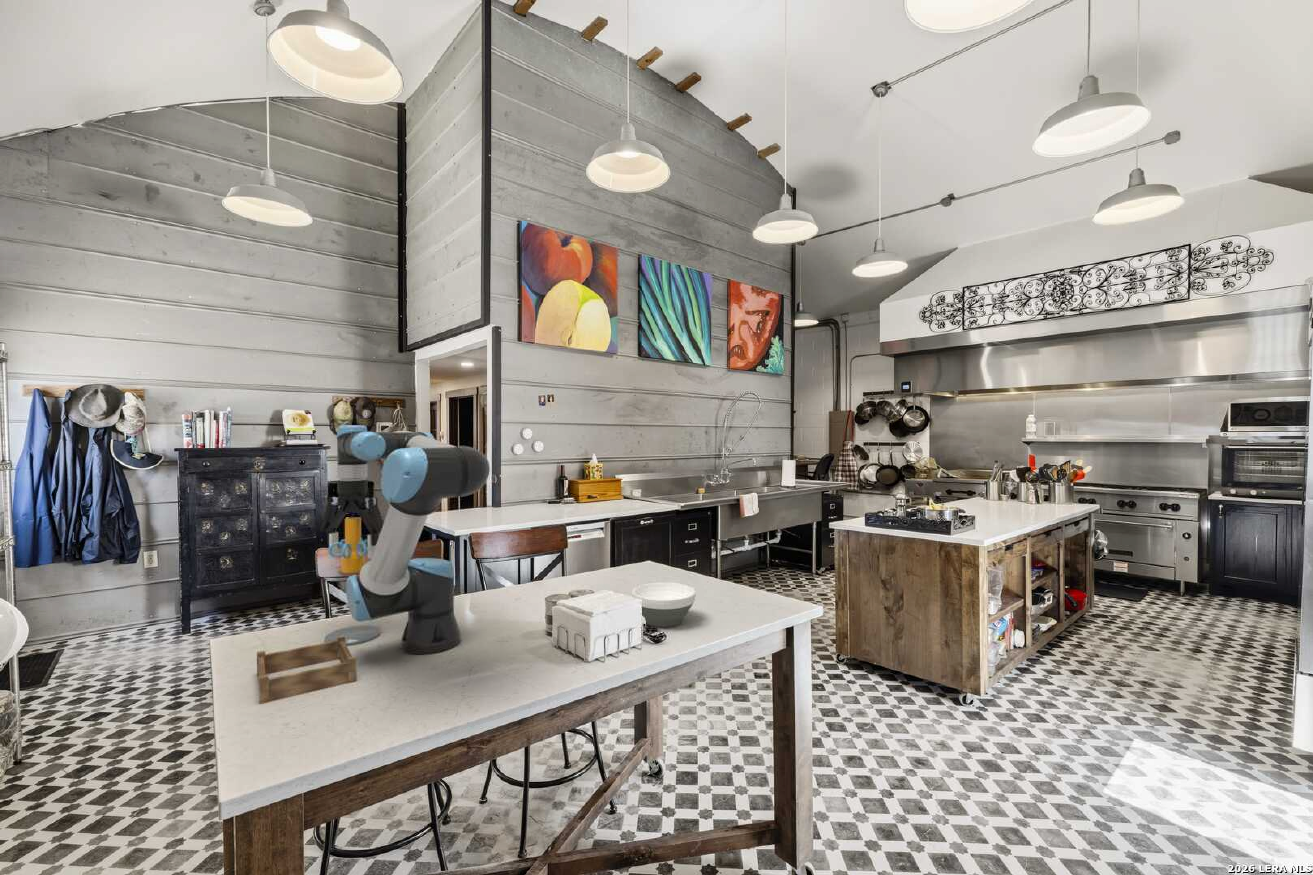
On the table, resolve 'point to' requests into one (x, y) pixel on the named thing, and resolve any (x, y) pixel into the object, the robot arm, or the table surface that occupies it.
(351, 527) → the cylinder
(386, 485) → the robot arm
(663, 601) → the bowl
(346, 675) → the crate
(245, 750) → the table surface
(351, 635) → the trivet
